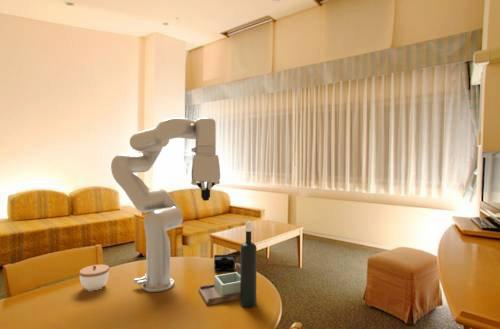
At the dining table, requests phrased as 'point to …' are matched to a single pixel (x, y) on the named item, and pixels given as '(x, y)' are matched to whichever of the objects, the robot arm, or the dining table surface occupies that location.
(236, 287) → the socket block
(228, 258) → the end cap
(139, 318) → the dining table surface
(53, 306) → the dining table surface
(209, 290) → the rail board
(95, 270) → the lidded jar
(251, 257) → the wine bottle
